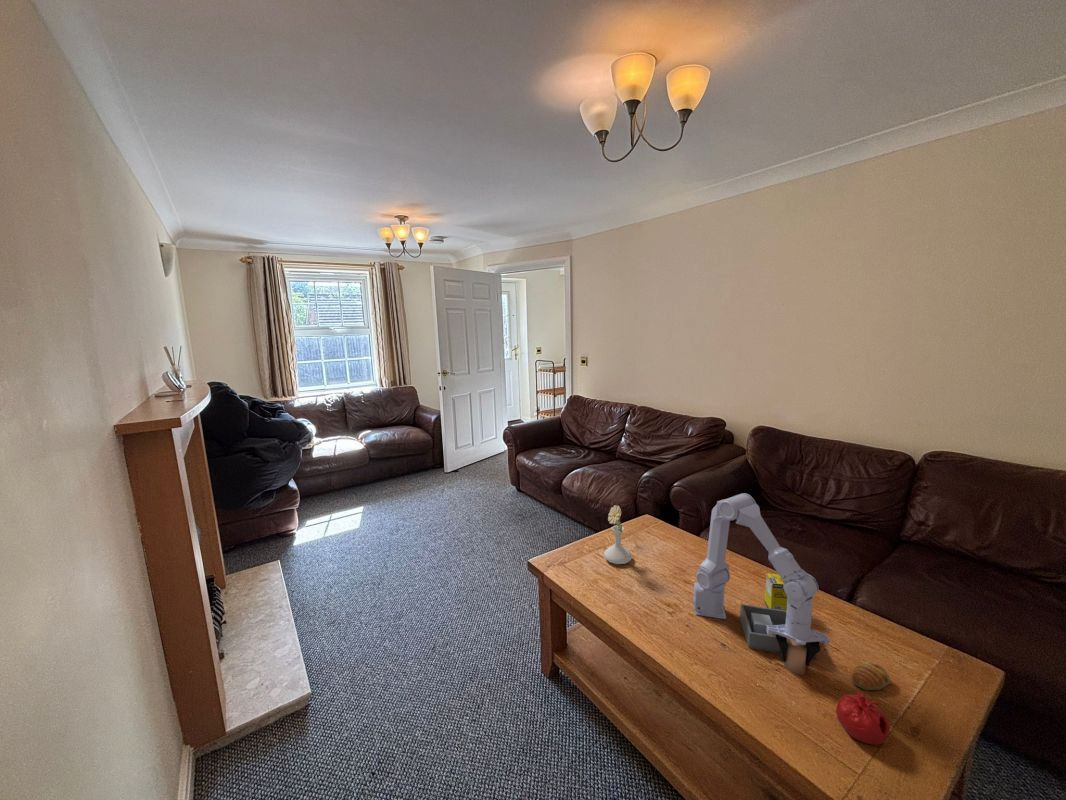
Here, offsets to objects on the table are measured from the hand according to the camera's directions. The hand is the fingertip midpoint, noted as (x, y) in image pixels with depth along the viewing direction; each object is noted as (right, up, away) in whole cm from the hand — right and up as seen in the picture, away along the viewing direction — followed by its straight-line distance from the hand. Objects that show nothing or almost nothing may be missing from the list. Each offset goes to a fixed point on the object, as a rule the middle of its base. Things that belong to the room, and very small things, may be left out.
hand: (794, 661), depth 114 cm
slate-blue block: (-3, +1, +12) cm, 12 cm away
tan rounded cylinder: (0, -2, 0) cm, 2 cm away
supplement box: (+9, +2, +24) cm, 26 cm away
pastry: (+17, -3, -5) cm, 18 cm away
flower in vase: (-38, +6, +55) cm, 67 cm away
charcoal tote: (+1, 0, +11) cm, 11 cm away
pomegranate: (+4, -5, -18) cm, 19 cm away
